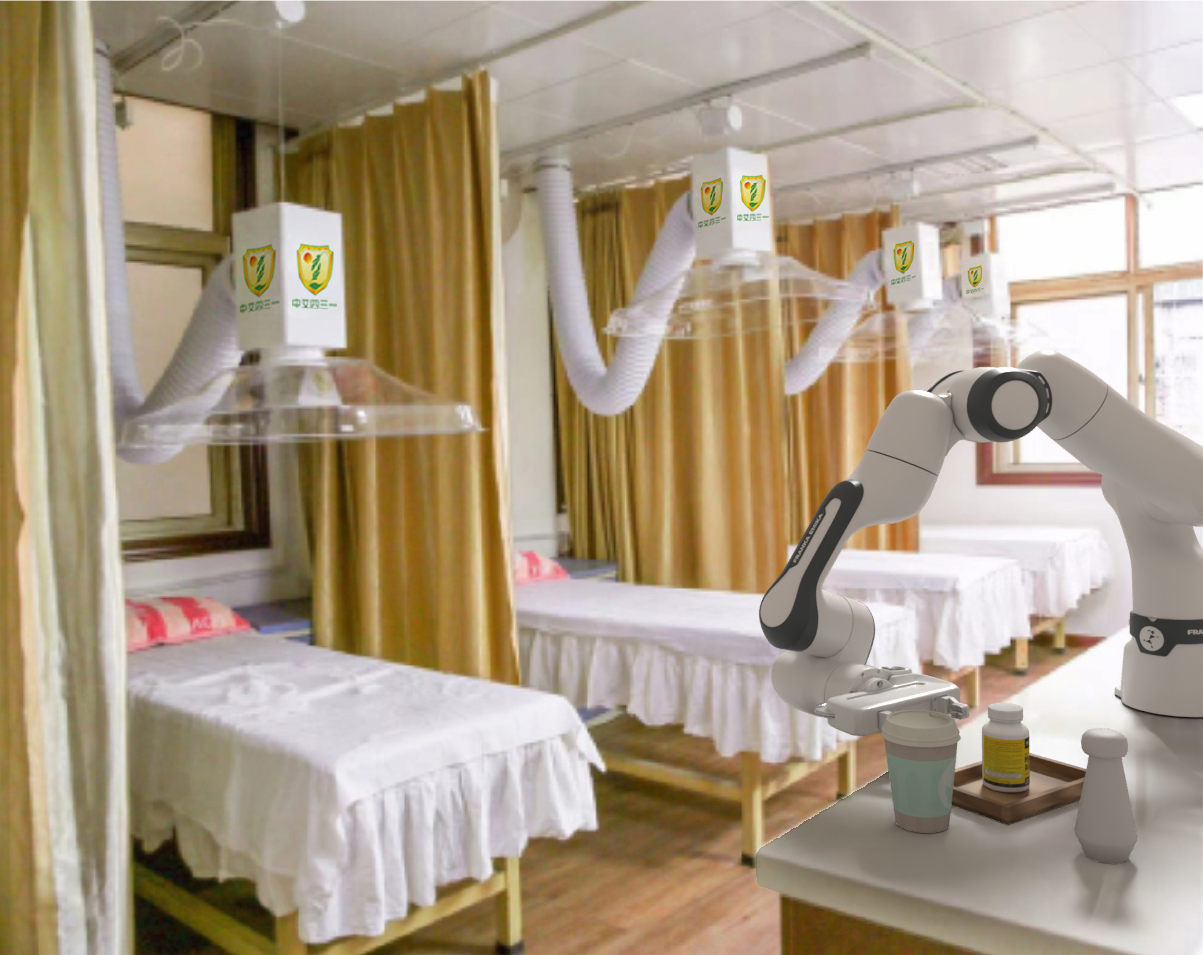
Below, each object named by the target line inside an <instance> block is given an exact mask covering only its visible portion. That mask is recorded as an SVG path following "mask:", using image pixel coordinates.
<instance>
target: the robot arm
mask: <svg viewBox="0 0 1203 955" xmlns="http://www.w3.org/2000/svg"><path fill="white" fill-rule="evenodd" d="M1036 427H1037V428H1038V429H1039V430H1041V431H1042V432H1043V433H1044V434H1045V435H1046V436H1047V437H1048V438H1050V439H1051V440H1052V441H1053V442H1055V444H1057V445H1059V446H1060V447H1061V448H1062V449H1063V450H1065V451H1066V452H1068V454H1070V455H1071V456H1072V457H1073V458H1074V459H1076V460H1077V461H1078V462H1079V463H1081V464H1082V465H1083V466H1085V467H1086V468H1087V469H1088V470H1090V471H1092V472H1094V473H1097V474H1100V475H1102V476H1101V480H1100V482H1101V483H1100V487H1101V491H1102V492H1101V493H1102V495H1103V498H1104V499H1105V501H1106V503H1108V505H1109V506H1110V507H1111V508H1112V509H1113V511H1114V512H1115V514H1116V517H1117V518H1118V521H1119V523H1120V526H1121V530H1122V533H1123V535H1124V538H1125V542H1126V546H1127V550H1128V553H1129V559H1130V566H1131V584H1132V585H1131V587H1132V588H1131V591H1132V610H1131V611H1130V612H1129V619H1128V625H1129V634H1130V636H1131V638H1130V639H1129V641H1127V642H1126V643H1125V644H1124V646H1123V653H1122V666H1121V677H1120V678H1121V680H1120V685H1117V686H1115V687H1114V692H1113V693H1114V695H1116V696H1117V697H1119V698H1121V702H1122V703H1123V704H1124V705H1125V706H1128V707H1130V708H1133V709H1135V710H1138V711H1141V712H1142V711H1144V712H1147V713H1152V714H1156V715H1163V716H1171V717H1172V716H1173V717H1180V718H1181V717H1182V718H1186V717H1187V718H1203V548H1202V546H1201V543H1200V542H1199V539H1198V538H1197V534H1196V532H1195V529H1194V527H1199V528H1200V527H1201V528H1202V527H1203V445H1201V444H1199V443H1198V442H1195V441H1194V440H1192V439H1190V438H1189V437H1187V436H1185V435H1184V434H1182V433H1180V432H1178V431H1177V430H1175V429H1173V428H1171V427H1169V426H1168V425H1165V424H1163V423H1161V422H1160V421H1158V420H1157V419H1154V418H1153V417H1151V416H1149V415H1148V414H1146V413H1145V412H1143V411H1142V410H1141V409H1140V408H1138V407H1137V406H1136V405H1134V404H1133V402H1131V401H1130V400H1128V399H1127V398H1125V397H1124V396H1123V395H1122V394H1121V393H1119V392H1118V391H1117V390H1116V389H1114V388H1113V387H1112V386H1111V385H1110V384H1108V383H1107V382H1106V381H1105V380H1103V379H1102V378H1101V377H1100V376H1098V375H1097V374H1095V373H1094V372H1092V371H1091V370H1090V369H1088V368H1087V367H1085V366H1084V365H1083V364H1081V363H1079V362H1078V361H1075V360H1074V359H1072V358H1071V357H1069V356H1066V355H1065V354H1063V353H1060V352H1058V351H1056V350H1051V349H1043V350H1038V351H1035V352H1033V353H1031V354H1029V355H1028V356H1026V357H1025V358H1024V359H1022V360H1021V361H1020V362H1019V363H1018V364H1017V366H1016V367H1010V366H1009V367H1008V366H1003V367H992V366H979V367H974V368H971V369H966V370H962V369H961V370H956V371H954V372H951V373H948V374H946V375H944V376H943V377H942V378H940V379H939V380H937V381H936V382H935V383H934V385H933V386H931V387H930V388H929V389H928V390H926V391H925V390H921V389H911V390H905V391H902V392H899V393H898V394H896V395H895V396H894V398H892V400H891V402H890V403H889V404H888V406H887V408H886V409H885V410H884V412H883V414H882V416H881V417H880V419H879V421H878V422H877V425H876V427H875V428H874V430H873V433H872V434H871V436H870V439H869V441H868V443H867V445H866V448H865V450H864V453H863V455H862V457H861V459H860V461H859V463H858V464H857V466H856V467H855V469H853V471H852V473H851V474H850V475H848V477H847V478H846V479H845V480H842V481H840V482H838V483H837V484H835V485H834V486H833V487H832V488H831V489H830V491H829V492H828V493H827V494H826V496H825V498H824V499H823V501H822V502H821V504H820V506H819V507H818V508H817V511H815V514H814V516H813V517H812V519H811V520H810V523H809V524H808V525H807V527H806V530H805V532H804V533H803V535H802V537H801V538H800V540H799V542H798V544H797V545H796V547H795V549H794V551H793V553H792V554H791V556H790V558H789V559H788V562H787V563H786V564H785V567H784V569H783V570H782V571H781V573H780V574H779V575H778V576H777V578H776V579H775V581H774V582H773V583H772V584H771V585H770V586H769V588H768V590H766V592H765V593H764V595H763V597H762V600H761V601H760V605H759V608H758V611H759V612H758V620H759V624H760V628H761V630H762V632H763V634H764V636H765V638H766V641H767V642H768V643H769V644H770V646H771V645H772V647H775V648H776V649H780V650H785V651H783V652H782V653H781V654H779V655H778V656H777V657H776V658H775V659H774V661H773V664H772V665H771V671H770V679H771V680H770V681H771V686H772V688H773V690H774V692H775V693H776V695H777V696H778V698H780V700H782V702H784V703H785V704H786V705H789V706H790V707H792V708H794V709H796V710H798V711H800V712H803V713H806V714H808V715H812V716H813V717H814V716H815V717H818V718H824V719H826V720H827V721H826V722H827V724H828V725H829V726H830V727H831V728H834V729H835V730H838V731H840V732H843V733H846V734H848V735H851V736H854V737H855V736H856V737H866V736H869V735H873V734H877V733H881V732H882V727H883V725H884V723H885V719H886V716H887V715H888V714H890V713H893V712H896V711H902V710H928V711H935V712H940V713H944V714H947V715H950V716H951V717H953V718H954V719H955V720H956V719H957V720H965V719H968V718H970V706H969V704H966V703H962V702H961V689H960V687H959V686H958V685H956V684H955V683H953V682H950V681H948V680H944V679H941V678H938V677H934V676H930V675H927V674H923V673H913V671H912V670H913V669H912V668H911V667H907V666H904V665H903V666H902V665H901V666H897V665H896V666H875V665H871V664H867V663H868V660H869V657H870V654H871V652H872V649H873V646H874V641H875V637H876V624H875V619H874V616H873V614H872V612H871V610H870V608H869V607H868V606H867V605H866V604H865V603H863V602H861V601H858V600H856V599H853V598H851V597H848V596H845V595H841V594H839V593H833V592H831V591H828V590H826V589H823V584H824V583H825V581H826V579H827V577H828V575H829V573H830V571H831V570H832V569H833V566H834V565H835V563H836V561H837V560H838V557H839V555H840V554H841V552H842V550H843V549H844V547H845V545H846V544H847V541H849V539H850V538H851V537H853V535H855V534H856V533H857V532H859V531H861V530H863V529H865V528H866V529H867V528H868V527H871V526H873V527H874V526H877V525H890V524H891V525H892V524H896V523H900V522H903V521H907V520H908V519H909V520H910V519H911V518H913V517H914V516H916V515H917V514H919V513H921V511H922V510H923V508H924V507H925V506H926V504H927V503H928V502H929V500H930V497H931V495H932V493H933V491H934V488H935V486H936V483H937V481H938V478H939V475H940V473H941V470H942V468H943V465H944V462H945V459H946V457H947V455H948V453H949V452H950V450H952V448H953V447H954V446H955V445H956V444H957V443H958V442H959V441H966V442H971V443H980V444H982V443H993V442H994V443H1008V442H1014V441H1016V440H1019V439H1021V438H1023V437H1026V436H1027V435H1028V434H1030V433H1031V432H1032V431H1034V430H1035V429H1036Z"/></svg>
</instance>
